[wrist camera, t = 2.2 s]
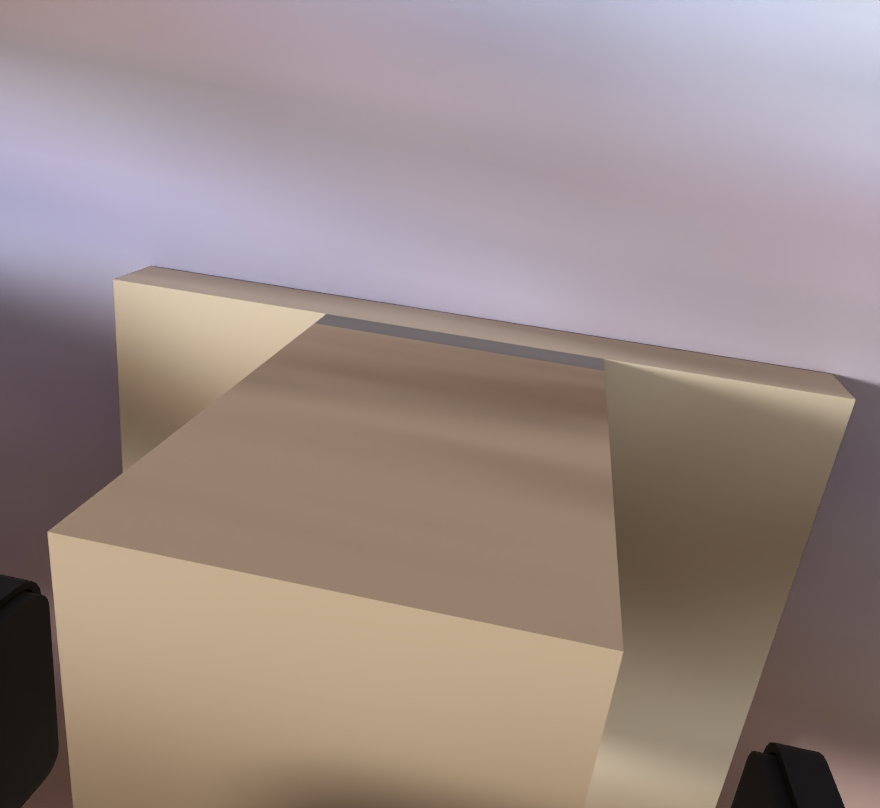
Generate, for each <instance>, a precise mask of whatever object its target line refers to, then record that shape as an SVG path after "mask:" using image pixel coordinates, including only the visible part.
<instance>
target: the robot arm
mask: <svg viewBox="0 0 880 808" xmlns="http://www.w3.org/2000/svg"><path fill="white" fill-rule="evenodd" d="M58 747H59V744H58V729H57V714H56V699H55V685H54V670H53V655H52V640H51V625H50V611H49V602H48V599H47V598H46V596H44V595H41V591H40V588H39V586H38V585H37V583H35V582H32V581H28V580H24V579H19V578H15V577H10V576H5V575H1V574H0V808H21V807H22V806H23V804H24V803H25V802H26V801H27V800H28V799H29V797H30V796H31V795H32V794H33V793H34V791H35V790H36V789H37V788H38V787H39V785H40V784H41V783H42V782H43V781H44V780H45V778H46V777H47V776H48V774H49V773H50V771H51V769H52V768H53V766H54V763H55V761H56V758H57V754H58ZM731 808H845V807H844V804H843V802H842V799H841V797H840V794H839V791H838V789H837V786H836V784H835V781H834V779H833V776H832V774H831V771H830V769H829V766H828V764H827V761H826V760H825V758H824V756H823V755H822V754H821V753H819V752H815V751H811V750H806V749H801V748H797V747H792V746H788V745H783V744H778V743H774V742H773V743H769V744H768V745H767V746H766V748H765V750H764V752H763V753H761V752H756V751H752V752H751V753H750V754H749V756H748V758H747V761H746V764H745V767H744V770H743V773H742V776H741V779H740V782H739V785H738V788H737V791H736V794H735V797H734V800H733V803H732V806H731Z"/></svg>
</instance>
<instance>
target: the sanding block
mask: <svg viewBox="0 0 880 808" xmlns="http://www.w3.org/2000/svg"><path fill="white" fill-rule="evenodd" d="M47 533H48V544H49V554H50V565H51V576H52V586H53V597H54V608H55V619H56V629H57V640H58V651H59V661H60V672H61V683H62V693H63V704H64V715H65V725H66V736H67V747H68V758H69V768H70V779H71V790H72V800H73V808H584V805H585V801H586V797H587V794H588V790H589V786H590V782H591V778H592V774H593V770H594V766H595V762H596V758H597V754H598V750H599V746H600V742H601V738H602V734H603V730H604V727H605V723H606V719H607V715H608V711H609V707H610V703H611V699H612V695H613V691H614V687H615V683H616V679H617V675H618V671H619V667H620V663H621V659H622V656H623V637H622V622H621V607H620V592H619V577H618V562H617V547H616V532H615V517H614V502H613V487H612V472H611V457H610V442H609V427H608V412H607V397H606V382H605V367H604V359H602V358H596V357H590V356H583V355H577V354H571V353H565V352H559V351H552V350H546V349H540V348H534V347H528V346H522V345H515V344H509V343H503V342H497V341H491V340H484V339H478V338H472V337H466V336H460V335H454V334H447V333H441V332H435V331H429V330H423V329H416V328H410V327H404V326H398V325H392V324H386V323H379V322H373V321H367V320H361V319H355V318H348V317H342V316H336V315H330V314H326V315H324V316H323V317H322V318H320V319H319V320H318V321H317V322H315V323H314V324H313V325H311V326H310V327H309V328H308V329H306V330H305V331H304V332H303V333H301V334H300V335H299V336H297V337H296V338H295V339H294V340H292V341H291V342H290V343H288V344H287V345H286V346H285V347H283V348H282V349H281V350H279V351H278V352H277V353H276V354H274V355H273V356H272V357H271V358H269V359H268V360H267V361H265V362H264V363H263V364H262V365H260V366H259V367H258V368H256V369H255V370H254V371H253V372H251V373H250V374H249V375H247V376H246V377H245V378H244V379H242V380H241V381H240V382H238V383H237V384H236V385H235V386H233V387H232V388H231V389H230V390H228V391H227V392H226V393H224V394H223V395H222V396H221V397H219V398H218V399H217V400H215V401H214V402H213V403H212V404H210V405H209V406H208V407H206V408H205V409H204V410H203V411H201V412H200V413H199V414H198V415H196V416H195V417H194V418H192V419H191V420H190V421H189V422H187V423H186V424H185V425H183V426H182V427H181V428H180V429H178V430H177V431H176V432H174V433H173V434H172V435H171V436H169V437H168V438H167V439H166V440H164V441H163V442H162V443H160V444H159V445H158V446H157V447H155V448H154V449H153V450H151V451H150V452H149V453H148V454H146V455H145V456H144V457H142V458H141V459H140V460H139V461H137V462H136V463H135V464H133V465H132V466H131V467H130V468H128V469H127V470H126V471H125V472H123V473H122V474H121V475H119V476H118V477H117V478H116V479H114V480H113V481H112V482H110V483H109V484H108V485H107V486H105V487H104V488H103V489H101V490H100V491H99V492H98V493H96V494H95V495H94V496H93V497H91V498H90V499H89V500H87V501H86V502H85V503H84V504H82V505H81V506H80V507H78V508H77V509H76V510H75V511H73V512H72V513H71V514H69V515H68V516H67V517H66V518H64V519H63V520H62V521H60V522H59V523H58V524H57V525H55V526H54V527H53V528H52V529H50V530H49V531H48V532H47Z"/></svg>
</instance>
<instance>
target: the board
mask: <svg viewBox="0 0 880 808" xmlns="http://www.w3.org/2000/svg"><path fill="white" fill-rule="evenodd" d="M113 286H114V306H115V326H116V346H117V367H118V387H119V407H120V427H121V447H122V467H123V472H125V471H126V470H127V469H128V468H130V467H131V466H132V465H133V464H135V463H136V462H137V461H139V460H140V459H141V458H142V457H144V456H145V455H146V454H148V453H149V452H150V451H151V450H153V449H154V448H155V447H157V446H158V445H159V444H160V443H162V442H163V441H164V440H166V439H167V438H168V437H169V436H171V435H172V434H173V433H174V432H176V431H177V430H178V429H180V428H181V427H182V426H183V425H185V424H186V423H187V422H189V421H190V420H191V419H192V418H194V417H195V416H196V415H198V414H199V413H200V412H201V411H203V410H204V409H205V408H206V407H208V406H209V405H210V404H212V403H213V402H214V401H215V400H217V399H218V398H219V397H221V396H222V395H223V394H224V393H226V392H227V391H228V390H230V389H231V388H232V387H233V386H235V385H236V384H237V383H238V382H240V381H241V380H242V379H244V378H245V377H246V376H247V375H249V374H250V373H251V372H253V371H254V370H255V369H256V368H258V367H259V366H260V365H262V364H263V363H264V362H265V361H267V360H268V359H269V358H271V357H272V356H273V355H274V354H276V353H277V352H278V351H279V350H281V349H282V348H283V347H285V346H286V345H287V344H288V343H290V342H291V341H292V340H294V339H295V338H296V337H297V336H299V335H300V334H301V333H303V332H304V331H305V330H306V329H308V328H309V327H310V326H311V325H313V324H314V323H315V322H317V321H318V320H319V319H320V318H322V317H323V316H324V315H326V314H330V315H336V316H342V317H348V318H355V319H361V320H367V321H373V322H379V323H386V324H392V325H398V326H404V327H410V328H416V329H423V330H429V331H435V332H441V333H447V334H454V335H460V336H466V337H472V338H478V339H484V340H491V341H497V342H503V343H509V344H515V345H522V346H528V347H534V348H540V349H546V350H552V351H559V352H565V353H571V354H577V355H583V356H590V357H596V358H602V359H604V367H605V382H606V397H607V412H608V427H609V442H610V457H611V472H612V487H613V502H614V517H615V532H616V547H617V562H618V577H619V592H620V607H621V622H622V637H623V656H622V659H621V663H620V667H619V671H618V675H617V679H616V683H615V687H614V691H613V695H612V699H611V703H610V707H609V711H608V715H607V719H606V723H605V727H604V730H603V734H602V738H601V742H600V746H599V750H598V754H597V758H596V762H595V766H594V770H593V774H592V778H591V782H590V786H589V790H588V794H587V797H586V801H585V805H584V808H716V805H717V802H718V799H719V796H720V793H721V790H722V787H723V784H724V781H725V778H726V776H727V773H728V770H729V767H730V764H731V761H732V758H733V755H734V752H735V749H736V747H737V744H738V741H739V738H740V735H741V732H742V729H743V726H744V723H745V720H746V717H747V715H748V712H749V709H750V706H751V703H752V700H753V697H754V694H755V691H756V688H757V685H758V683H759V680H760V677H761V674H762V671H763V668H764V665H765V662H766V659H767V656H768V653H769V651H770V648H771V645H772V642H773V639H774V636H775V633H776V630H777V627H778V624H779V621H780V619H781V616H782V613H783V610H784V607H785V604H786V601H787V598H788V595H789V592H790V589H791V587H792V584H793V581H794V578H795V575H796V572H797V569H798V566H799V563H800V560H801V558H802V555H803V552H804V549H805V546H806V543H807V540H808V537H809V534H810V531H811V528H812V526H813V523H814V520H815V517H816V514H817V511H818V508H819V505H820V502H821V499H822V496H823V494H824V491H825V488H826V485H827V482H828V479H829V476H830V473H831V470H832V467H833V464H834V462H835V459H836V456H837V453H838V450H839V447H840V444H841V441H842V438H843V435H844V432H845V430H846V427H847V424H848V421H849V418H850V415H851V412H852V409H853V406H854V403H855V400H856V399H855V398H854V397H853V396H852V395H851V394H850V393H849V392H848V391H847V389H846V388H845V387H844V386H843V385H842V384H841V383H840V382H839V381H838V380H837V379H836V378H835V376H834V375H833V374H829V373H823V372H816V371H810V370H804V369H797V368H791V367H785V366H779V365H772V364H766V363H760V362H753V361H747V360H741V359H734V358H728V357H722V356H715V355H709V354H703V353H696V352H690V351H684V350H677V349H671V348H665V347H659V346H652V345H646V344H640V343H633V342H627V341H621V340H614V339H608V338H602V337H595V336H589V335H583V334H576V333H570V332H564V331H558V330H551V329H545V328H539V327H532V326H526V325H520V324H513V323H507V322H501V321H494V320H488V319H482V318H475V317H469V316H463V315H457V314H450V313H444V312H438V311H431V310H425V309H419V308H412V307H406V306H400V305H393V304H387V303H381V302H374V301H368V300H362V299H356V298H349V297H343V296H337V295H330V294H324V293H318V292H311V291H305V290H299V289H292V288H286V287H280V286H273V285H267V284H261V283H255V282H248V281H242V280H236V279H229V278H223V277H217V276H210V275H204V274H198V273H191V272H185V271H179V270H172V269H166V268H160V267H154V266H149V267H146V268H144V269H141V270H138V271H135V272H132V273H130V274H127V275H124V276H121V277H119V278H116V279H113Z"/></svg>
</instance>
